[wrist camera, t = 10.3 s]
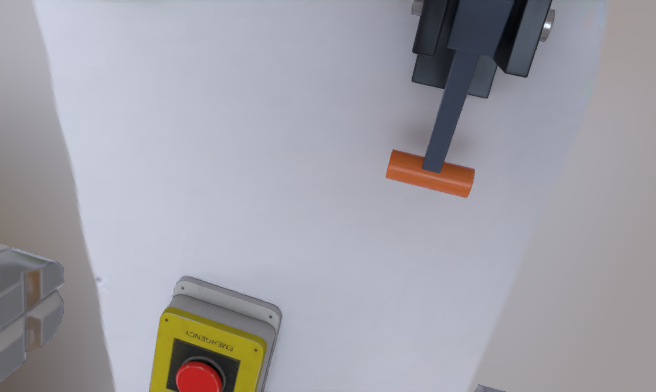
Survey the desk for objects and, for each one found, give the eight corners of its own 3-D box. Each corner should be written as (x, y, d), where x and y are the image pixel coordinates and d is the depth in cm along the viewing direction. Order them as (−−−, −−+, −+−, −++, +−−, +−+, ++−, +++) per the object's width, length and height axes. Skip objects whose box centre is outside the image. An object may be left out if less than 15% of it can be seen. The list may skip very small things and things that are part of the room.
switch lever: (468, 178, 34) (464, 207, 32) (390, 159, 34) (382, 187, 33) (550, -20, 23) (549, 9, 22) (436, -43, 24) (428, -15, 23)
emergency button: (267, 338, 40) (232, 480, 46) (283, 308, 44) (250, 442, 50) (153, 299, 41) (132, 443, 47) (179, 273, 45) (157, 408, 51)
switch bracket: (493, 97, 36) (518, 143, 24) (404, 77, 36) (385, 112, 25) (544, -68, 32) (602, -110, 20) (444, -86, 33) (444, -138, 21)
